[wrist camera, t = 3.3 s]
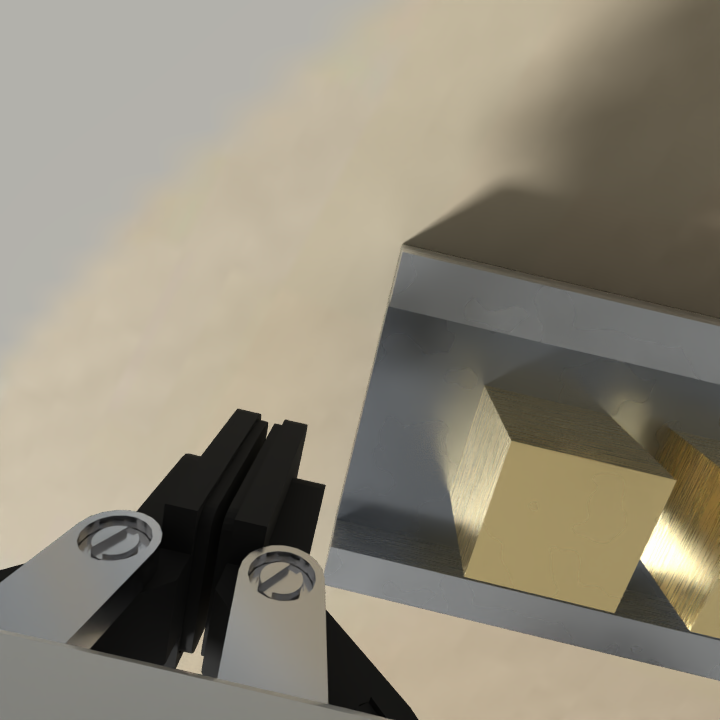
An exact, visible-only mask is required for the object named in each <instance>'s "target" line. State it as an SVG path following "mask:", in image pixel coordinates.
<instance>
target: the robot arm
mask: <svg viewBox="0 0 720 720" xmlns="http://www.w3.org/2000/svg"><path fill="white" fill-rule="evenodd" d="M267 429H268V422H266V421H262V420H261V414H259V413H254V412H250V411H246V410H241V409H237V410H236V411H235V412H234V414H233V415H232V416H231V418H230V419H229V420H228V422H227V423H226V424H225V426H224V427H223V428H222V429H221V431H220V432H219V433H218V435H217V436H216V437H215V439H214V440H213V441H212V442H211V444H210V445H209V446H208V448H207V449H206V450H205V452H204V453H203V454H202V456H197V455H192V454H185V455H184V456H183V457H182V458H181V459H180V460H179V461H178V463H177V464H176V465H175V466H174V467H173V469H172V470H171V471H170V472H169V473H168V475H167V476H166V477H165V478H164V479H163V481H162V482H161V483H160V484H159V485H158V487H157V488H156V489H155V490H154V491H153V492H152V494H151V495H150V496H149V497H148V498H147V500H146V501H145V502H144V503H143V504H142V506H141V507H140V508H139V509H138V510H137V512H135V511H131V510H114V511H107V512H102V513H99V514H96V515H93V516H90V517H88V518H86V519H84V520H83V521H81V522H79V523H78V524H76V525H75V526H74V527H72V528H71V529H70V530H69V531H67V532H66V533H65V534H63V535H62V536H61V537H59V538H58V539H57V540H55V541H54V542H53V543H51V544H50V545H49V546H48V547H46V548H45V549H44V550H42V551H41V552H40V553H38V554H37V555H36V556H34V557H33V558H32V559H31V560H29V561H28V562H27V563H25V564H21V565H18V566H14V567H10V568H7V569H3V570H0V720H418V718H417V717H416V715H415V714H414V712H413V711H412V709H411V708H410V707H409V705H408V704H407V703H406V702H405V701H404V700H403V698H402V697H401V696H400V695H399V694H398V693H397V691H396V690H395V689H394V688H393V687H392V686H391V685H390V683H389V682H388V681H387V680H386V679H385V678H384V676H383V675H382V674H381V673H380V672H379V671H378V669H377V668H376V667H375V666H374V665H373V664H372V662H371V661H370V660H369V659H368V658H367V657H366V655H365V654H364V653H363V652H362V651H361V650H360V649H359V647H358V646H357V645H356V644H355V643H354V642H353V640H352V639H351V638H350V637H349V636H348V635H347V633H346V632H345V631H344V630H343V629H342V628H341V626H340V625H339V624H338V623H337V622H336V621H335V619H334V618H333V617H332V616H331V615H330V614H329V612H328V611H327V610H326V605H325V578H324V574H323V570H322V568H321V567H320V565H319V564H318V562H317V561H316V560H315V559H314V558H313V557H311V556H310V551H311V546H312V542H313V538H314V534H315V529H316V525H317V521H318V516H319V512H320V508H321V503H322V499H323V495H324V490H325V486H326V485H323V484H319V483H315V482H310V481H306V480H302V479H297V475H298V470H299V465H300V460H301V456H302V451H303V446H304V441H305V437H306V432H307V425H306V424H302V423H298V422H293V421H289V420H284V422H283V424H282V425H279V424H274V425H273V427H272V429H271V431H270V433H269V434H268V436H267V438H266V435H267ZM204 629H205V632H204V638H203V644H202V650H201V656H204V659H203V665H202V671H201V672H202V674H203V675H201V674H196V673H192V672H187V671H183V670H179V669H176V667H177V665H178V663H179V660H180V658H181V656H182V654H183V652H188V653H193V652H194V651H195V649H196V647H197V644H198V642H199V640H200V638H201V635H202V633H203V631H204Z"/></svg>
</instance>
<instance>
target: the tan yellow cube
mask: <svg viewBox="0 0 720 720" xmlns="http://www.w3.org/2000/svg"><path fill="white" fill-rule="evenodd" d="M657 462H658V463H659V464H660V465H662V466H663V467H664V468H665V469H666V470H667V471H668V472H669V473H670V474H671V475H672V476H673V477H674V478H675V479H676V480H677V481H676V483H675V485H674V488H673V490H672V492H671V494H670V496H669V498H668V500H667V503H666V505H665V507H664V509H663V511H662V513H661V515H660V517H659V520H658V522H657V524H656V526H655V528H654V530H653V532H652V534H651V537H650V539H649V541H648V543H647V545H646V547H645V549H644V551H643V554H642V556H641V558H640V560H641V561H642V563H643V564H644V565H645V567H646V568H647V570H648V571H649V573H650V574H651V576H652V577H653V578H654V580H655V581H656V583H657V584H658V586H659V587H660V589H661V590H662V591H663V593H664V594H665V596H666V597H667V599H668V600H669V602H670V603H671V605H672V606H673V607H674V609H675V610H676V612H677V613H678V615H679V616H680V618H681V619H682V620H683V622H684V623H685V625H686V626H687V628H688V629H689V631H691V632H695V633H699V634H703V635H707V636H711V637H715V638H719V639H720V441H718V440H714V439H709V438H705V437H701V436H697V435H693V434H688V433H684V432H680V431H676V430H671V432H670V434H669V437H668V439H667V441H666V443H665V446H664V448H663V450H662V452H661V454H660V457H659V459H658V461H657Z"/></svg>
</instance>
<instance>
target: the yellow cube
mask: <svg viewBox="0 0 720 720" xmlns="http://www.w3.org/2000/svg"><path fill="white" fill-rule="evenodd" d="M676 481H677V480H676V479H675V478H674V477H673V476H672V475H671V474H670V473H669V472H668V471H667V470H666V469H665V468H664V467H663V466H662V465H660V464H659V463H658V462H657V461H656V460H655V459H654V458H653V457H652V456H651V455H650V454H649V453H648V452H647V451H646V450H645V449H644V448H643V447H642V446H641V445H640V444H639V443H638V442H637V441H636V440H635V439H634V438H633V437H632V436H631V435H630V434H628V433H627V432H626V431H625V430H624V429H623V428H622V427H621V426H620V425H619V424H618V423H617V422H616V421H615V420H614V419H613V418H612V417H611V416H610V415H608V414H604V413H600V412H596V411H592V410H587V409H583V408H579V407H575V406H570V405H566V404H562V403H558V402H554V401H549V400H545V399H541V398H537V397H533V396H528V395H524V394H520V393H516V392H512V391H507V390H503V389H499V388H495V387H490V386H486V385H484V387H483V390H482V393H481V396H480V400H479V403H478V406H477V409H476V412H475V415H474V418H473V422H472V425H471V428H470V431H469V434H468V437H467V441H466V444H465V447H464V450H463V453H462V456H461V459H460V463H459V466H458V469H457V472H456V475H455V478H454V481H453V485H452V488H451V491H450V499H451V505H452V511H453V516H454V522H455V528H456V533H457V539H458V545H459V551H460V556H461V562H462V568H463V573H464V577H467V578H471V579H475V580H480V581H484V582H488V583H492V584H496V585H500V586H504V587H508V588H513V589H517V590H521V591H525V592H529V593H533V594H537V595H542V596H546V597H550V598H554V599H558V600H562V601H566V602H571V603H575V604H579V605H583V606H587V607H591V608H595V609H600V610H604V611H608V612H612V613H615V611H616V609H617V607H618V605H619V603H620V600H621V598H622V596H623V594H624V592H625V590H626V588H627V586H628V583H629V581H630V579H631V577H632V575H633V573H634V571H635V569H636V566H637V564H638V562H639V560H640V558H641V556H642V554H643V551H644V549H645V547H646V545H647V543H648V541H649V539H650V537H651V534H652V532H653V530H654V528H655V526H656V524H657V522H658V520H659V517H660V515H661V513H662V511H663V509H664V507H665V505H666V503H667V500H668V498H669V496H670V494H671V492H672V490H673V488H674V485H675V483H676Z"/></svg>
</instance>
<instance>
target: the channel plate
mask: <svg viewBox="0 0 720 720" xmlns="http://www.w3.org/2000/svg"><path fill="white" fill-rule="evenodd" d="M484 385H486V386H490V387H495V388H499V389H503V390H507V391H512V392H516V393H520V394H524V395H528V396H533V397H537V398H541V399H545V400H549V401H554V402H558V403H562V404H566V405H570V406H575V407H579V408H583V409H587V410H592V411H596V412H600V413H604V414H608V415H610V416H611V417H612V418H613V419H614V420H615V421H616V422H617V423H618V424H619V425H620V426H621V427H622V428H623V429H624V430H625V431H626V432H627V433H628V434H630V435H631V436H632V437H633V438H634V439H635V440H636V441H637V442H638V443H639V444H640V445H641V446H642V447H643V448H644V449H645V450H646V451H647V452H648V453H649V454H650V455H651V456H652V457H653V458H654V459H655V460H656V461H658V459H659V457H660V454H661V452H662V450H663V448H664V446H665V443H666V441H667V439H668V437H669V434H670V432H671V430H676V431H680V432H684V433H688V434H693V435H697V436H701V437H705V438H709V439H714V440H718V441H720V319H719V318H715V317H711V316H707V315H702V314H698V313H694V312H690V311H685V310H681V309H677V308H673V307H668V306H664V305H660V304H656V303H651V302H647V301H643V300H639V299H634V298H630V297H626V296H622V295H617V294H613V293H609V292H605V291H600V290H596V289H592V288H588V287H583V286H579V285H575V284H571V283H566V282H562V281H558V280H554V279H549V278H545V277H541V276H536V275H532V274H528V273H524V272H519V271H515V270H511V269H507V268H502V267H498V266H494V265H490V264H485V263H481V262H477V261H473V260H468V259H464V258H460V257H456V256H451V255H447V254H443V253H439V252H434V251H430V250H426V249H422V248H417V247H413V246H409V245H405V244H402V247H401V251H400V255H399V259H398V263H397V268H396V272H395V276H394V280H393V284H392V288H391V292H390V296H389V300H388V305H387V309H386V313H385V317H384V321H383V325H382V329H381V333H380V337H379V342H378V346H377V350H376V354H375V358H374V362H373V366H372V370H371V374H370V379H369V383H368V387H367V391H366V395H365V399H364V403H363V407H362V411H361V416H360V420H359V424H358V428H357V432H356V436H355V440H354V444H353V448H352V453H351V457H350V461H349V465H348V469H347V473H346V477H345V481H344V485H343V490H342V494H341V498H340V502H339V506H338V510H337V514H336V518H335V523H334V527H333V532H332V537H331V542H330V546H329V551H328V556H327V560H326V565H325V570H324V578H325V585H327V586H331V587H335V588H339V589H344V590H348V591H352V592H356V593H360V594H364V595H368V596H372V597H376V598H381V599H385V600H389V601H393V602H397V603H401V604H405V605H409V606H414V607H418V608H422V609H426V610H430V611H434V612H438V613H442V614H447V615H451V616H455V617H459V618H463V619H467V620H471V621H475V622H480V623H484V624H488V625H492V626H496V627H500V628H504V629H508V630H513V631H517V632H521V633H525V634H529V635H533V636H537V637H541V638H545V639H550V640H554V641H558V642H562V643H566V644H570V645H574V646H578V647H583V648H587V649H591V650H595V651H599V652H603V653H607V654H611V655H616V656H620V657H624V658H628V659H632V660H636V661H640V662H644V663H649V664H653V665H657V666H661V667H665V668H669V669H673V670H677V671H681V672H686V673H690V674H694V675H698V676H702V677H706V678H710V679H714V680H719V681H720V639H719V638H715V637H711V636H707V635H703V634H699V633H695V632H691V631H689V629H688V628H687V626H686V625H685V623H684V622H683V620H682V619H681V618H680V616H679V615H678V613H677V612H676V610H675V609H674V607H673V606H672V605H671V603H670V602H669V600H668V599H667V597H666V596H665V594H664V593H663V591H662V590H661V589H660V587H659V586H658V584H657V583H656V581H655V580H654V578H653V577H652V576H651V574H650V573H649V571H648V570H647V568H646V567H645V565H644V564H643V563H642V561H641V560H639V562H638V564H637V566H636V569H635V571H634V573H633V575H632V577H631V579H630V581H629V583H628V586H627V588H626V590H625V592H624V594H623V596H622V598H621V600H620V603H619V605H618V607H617V609H616V611H615V613H612V612H608V611H604V610H600V609H595V608H591V607H587V606H583V605H579V604H575V603H571V602H566V601H562V600H558V599H554V598H550V597H546V596H542V595H537V594H533V593H529V592H525V591H521V590H517V589H513V588H508V587H504V586H500V585H496V584H492V583H488V582H484V581H480V580H475V579H471V578H467V577H464V573H463V568H462V562H461V556H460V551H459V545H458V539H457V533H456V528H455V522H454V516H453V511H452V505H451V499H450V491H451V488H452V485H453V481H454V478H455V475H456V472H457V469H458V466H459V463H460V459H461V456H462V453H463V450H464V447H465V444H466V441H467V437H468V434H469V431H470V428H471V425H472V422H473V418H474V415H475V412H476V409H477V406H478V403H479V400H480V396H481V393H482V390H483V387H484Z"/></svg>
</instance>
